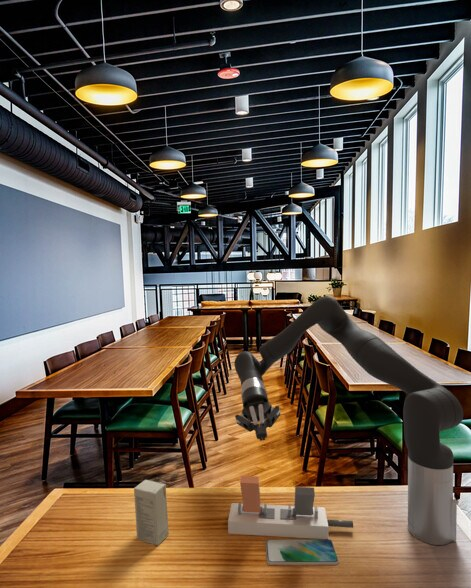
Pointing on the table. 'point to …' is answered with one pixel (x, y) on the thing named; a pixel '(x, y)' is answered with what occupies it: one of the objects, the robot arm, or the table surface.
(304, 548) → the smartphone
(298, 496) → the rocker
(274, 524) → the power strip
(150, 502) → the skincare box
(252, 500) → the bar
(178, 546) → the table surface
